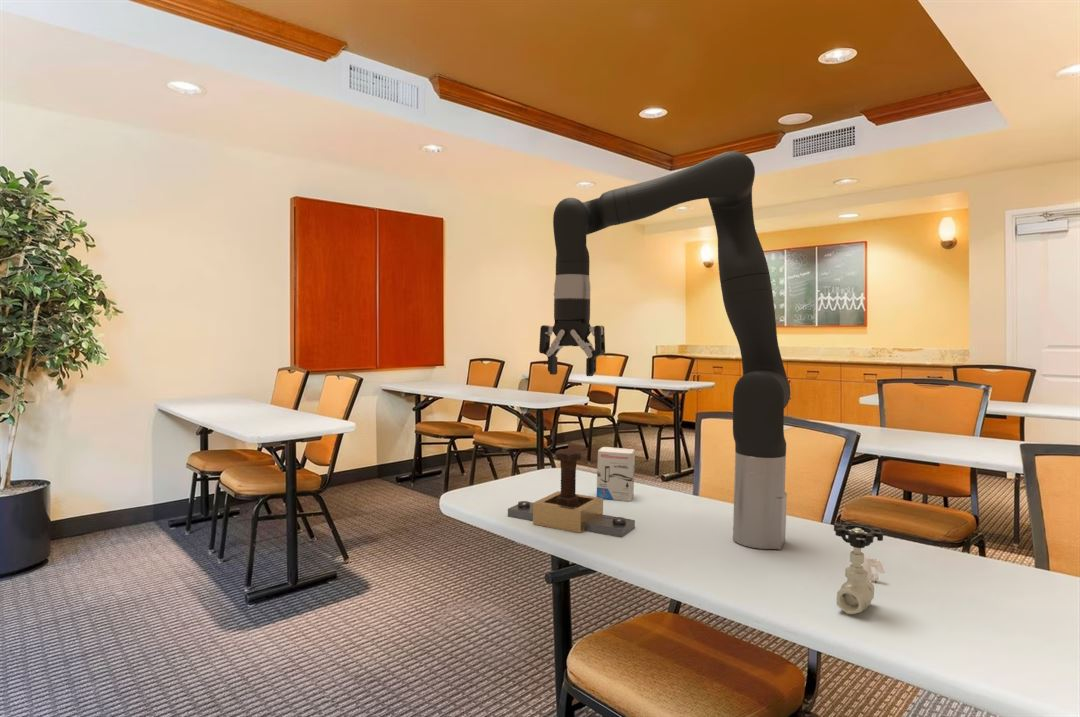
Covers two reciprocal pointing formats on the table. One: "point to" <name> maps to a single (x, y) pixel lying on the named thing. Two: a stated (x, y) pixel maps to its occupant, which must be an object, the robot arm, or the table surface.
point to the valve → (856, 568)
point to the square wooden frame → (566, 512)
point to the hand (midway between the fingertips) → (571, 375)
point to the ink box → (615, 473)
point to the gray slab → (522, 510)
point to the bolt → (568, 476)
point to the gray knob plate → (610, 525)
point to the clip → (873, 562)
